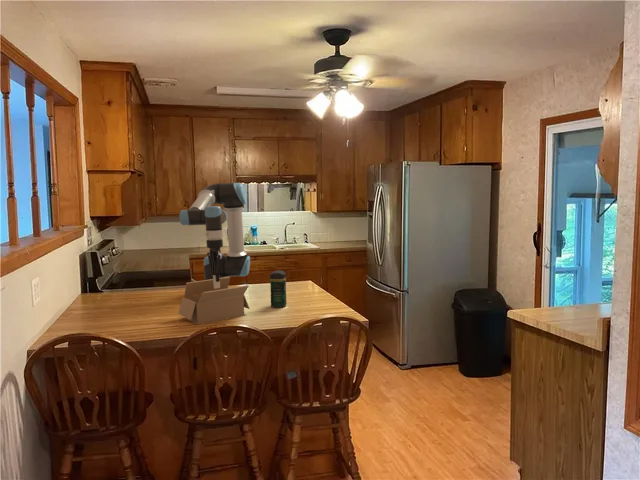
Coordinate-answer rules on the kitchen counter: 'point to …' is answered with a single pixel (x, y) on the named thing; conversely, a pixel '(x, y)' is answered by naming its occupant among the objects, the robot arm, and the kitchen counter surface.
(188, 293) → the flap
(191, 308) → the carton
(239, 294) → the flap
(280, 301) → the coffee jar
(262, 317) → the kitchen counter surface
